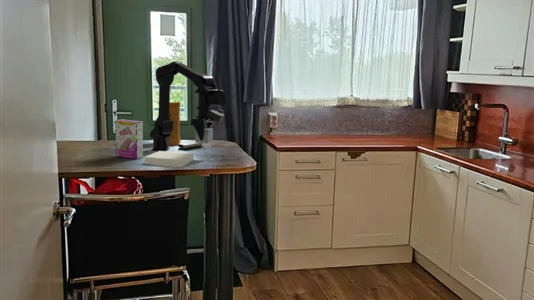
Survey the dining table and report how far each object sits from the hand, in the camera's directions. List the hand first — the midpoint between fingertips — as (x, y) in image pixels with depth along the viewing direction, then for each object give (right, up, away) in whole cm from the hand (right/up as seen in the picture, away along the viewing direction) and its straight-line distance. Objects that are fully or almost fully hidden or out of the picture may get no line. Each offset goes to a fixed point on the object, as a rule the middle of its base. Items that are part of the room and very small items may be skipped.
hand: (204, 139), depth 209 cm
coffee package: (-23, -2, +34) cm, 41 cm away
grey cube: (0, -1, 0) cm, 1 cm away
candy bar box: (-33, -8, -2) cm, 34 cm away
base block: (-14, -10, -8) cm, 19 cm away
